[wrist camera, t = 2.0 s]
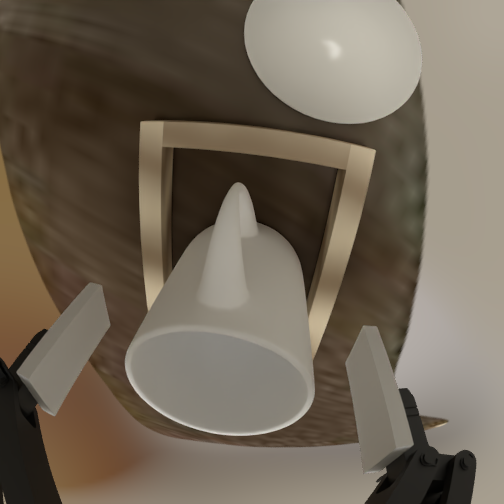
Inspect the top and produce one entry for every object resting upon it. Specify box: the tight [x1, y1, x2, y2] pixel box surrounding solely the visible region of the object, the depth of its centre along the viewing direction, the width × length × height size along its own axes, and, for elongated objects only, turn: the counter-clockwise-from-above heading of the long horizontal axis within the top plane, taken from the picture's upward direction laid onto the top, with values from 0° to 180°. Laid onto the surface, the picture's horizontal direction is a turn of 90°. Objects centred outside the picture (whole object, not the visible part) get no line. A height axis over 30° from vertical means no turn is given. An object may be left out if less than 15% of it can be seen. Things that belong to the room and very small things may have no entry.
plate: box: [244, 0, 422, 124], centre depth 12 cm, size 11×11×1 cm
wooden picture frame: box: [139, 120, 376, 361], centre depth 19 cm, size 17×14×2 cm
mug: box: [125, 182, 315, 436], centre depth 15 cm, size 9×12×11 cm
